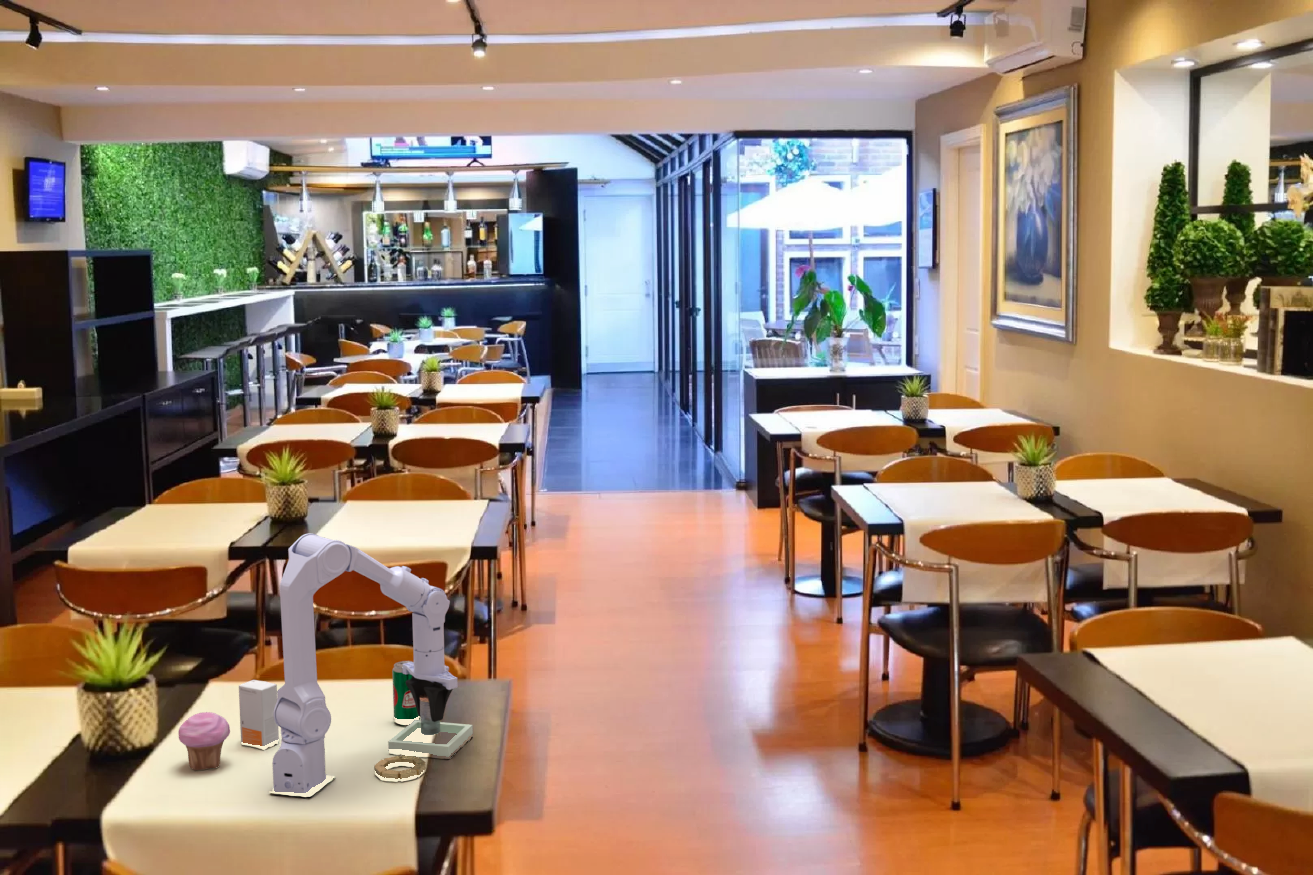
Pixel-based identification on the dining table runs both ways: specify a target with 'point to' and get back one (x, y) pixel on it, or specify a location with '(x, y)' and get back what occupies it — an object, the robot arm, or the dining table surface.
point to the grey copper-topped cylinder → (427, 718)
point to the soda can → (402, 694)
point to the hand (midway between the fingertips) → (430, 717)
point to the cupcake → (204, 739)
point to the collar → (416, 770)
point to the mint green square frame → (432, 748)
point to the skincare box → (258, 712)
